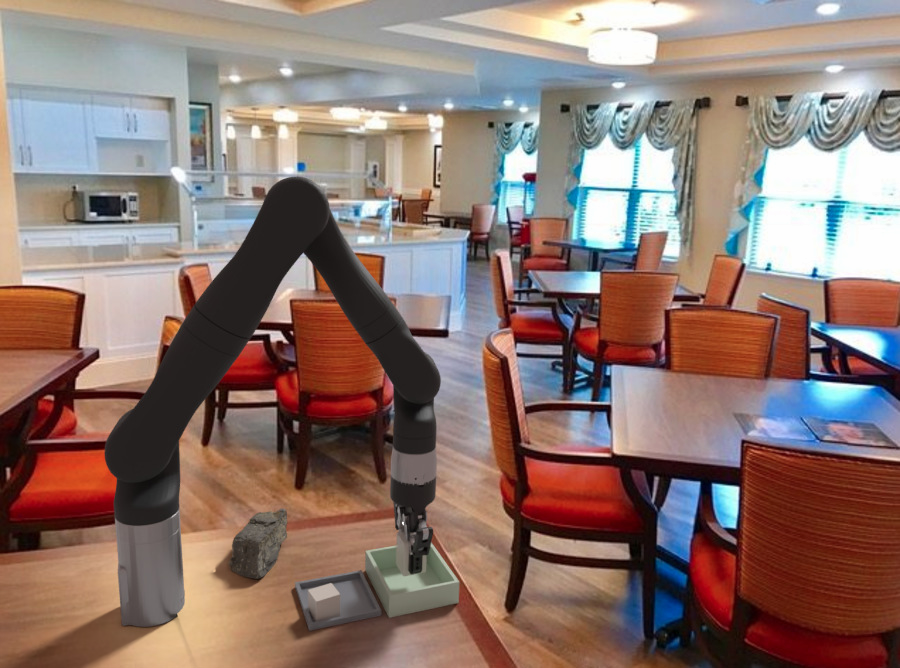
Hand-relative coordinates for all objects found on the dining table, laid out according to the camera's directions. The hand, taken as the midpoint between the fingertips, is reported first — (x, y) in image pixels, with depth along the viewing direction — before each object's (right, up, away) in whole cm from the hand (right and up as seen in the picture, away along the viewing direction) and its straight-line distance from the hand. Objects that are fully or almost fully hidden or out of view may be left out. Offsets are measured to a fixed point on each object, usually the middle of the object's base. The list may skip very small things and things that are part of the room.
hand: (410, 564), depth 120 cm
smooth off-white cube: (-13, -6, -7) cm, 16 cm away
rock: (-28, -2, +9) cm, 29 cm away
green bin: (0, -5, +1) cm, 5 cm away
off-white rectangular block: (0, -1, 0) cm, 1 cm away
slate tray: (-12, -5, -4) cm, 14 cm away
